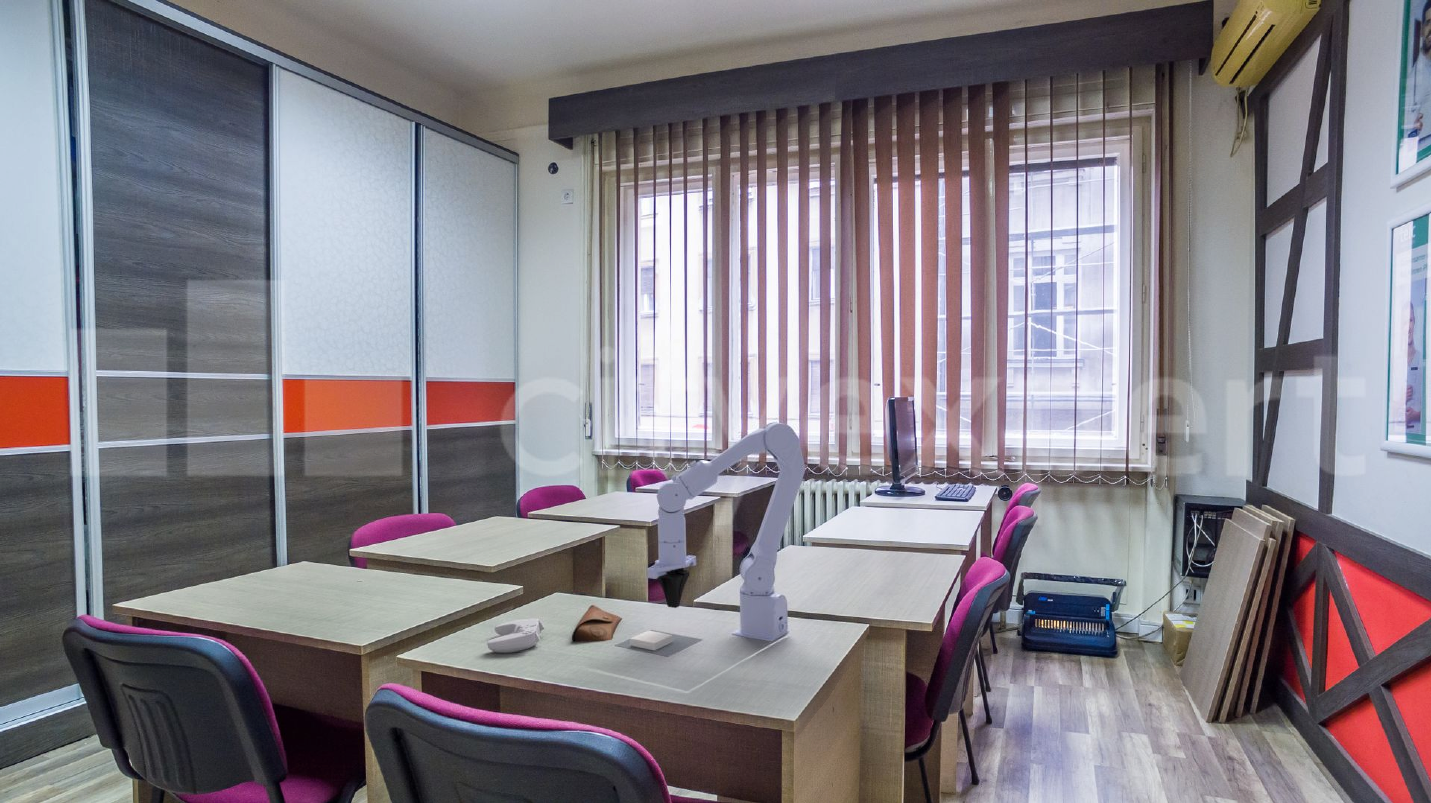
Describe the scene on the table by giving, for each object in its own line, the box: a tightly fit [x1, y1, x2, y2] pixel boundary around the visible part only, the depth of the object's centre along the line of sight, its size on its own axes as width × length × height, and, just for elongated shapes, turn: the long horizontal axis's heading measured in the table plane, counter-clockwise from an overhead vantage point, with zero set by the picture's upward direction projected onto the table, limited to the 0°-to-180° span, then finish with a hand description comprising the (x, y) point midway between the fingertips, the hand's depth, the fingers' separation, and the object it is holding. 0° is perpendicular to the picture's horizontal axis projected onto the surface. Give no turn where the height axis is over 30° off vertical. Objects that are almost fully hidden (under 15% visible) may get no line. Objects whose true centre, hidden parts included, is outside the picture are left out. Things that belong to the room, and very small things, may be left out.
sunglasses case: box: [571, 604, 623, 643], centre depth 163 cm, size 18×7×7 cm
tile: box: [629, 630, 673, 651], centre depth 152 cm, size 6×2×6 cm
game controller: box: [486, 618, 545, 654], centre depth 155 cm, size 14×4×10 cm
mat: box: [614, 629, 704, 658], centre depth 153 cm, size 13×12×1 cm
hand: (673, 606), depth 158 cm, fingers closed
